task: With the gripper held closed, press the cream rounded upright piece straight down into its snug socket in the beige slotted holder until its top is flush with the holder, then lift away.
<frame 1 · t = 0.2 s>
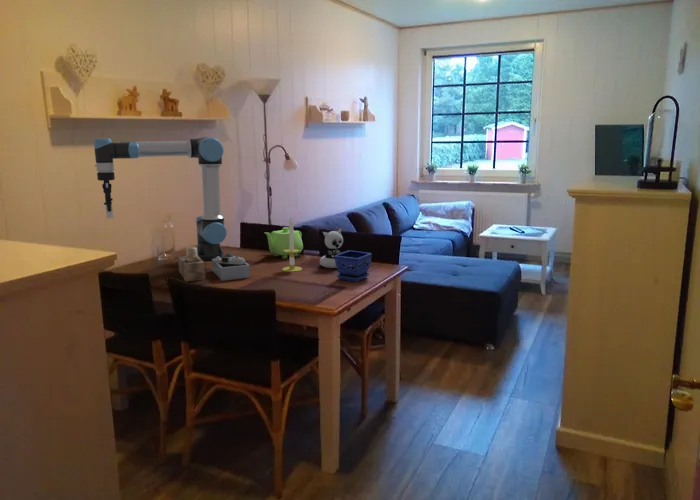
hand: (109, 216, 266), 28 cm above the table, fingers open, 13 cm apart
teapot: (280, 255, 309), on the table
camera: (232, 273, 270), resting in caddy
decorative figurine: (334, 266, 286), on the table
beige slotted holder: (191, 275, 267), on the table
caddy: (230, 274, 269), on the table
flower pot: (353, 279, 261), on the table
candle: (292, 269, 278), on the table
cream rounded upright piece: (191, 256, 261), point 10 cm above the table, slide at 0.0 cm
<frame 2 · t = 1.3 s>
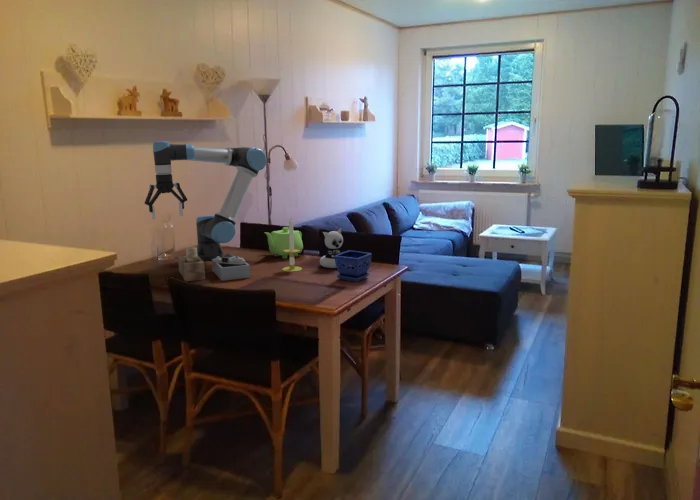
hand: (167, 217, 272), 26 cm above the table, fingers open, 13 cm apart
nothing on the table moved.
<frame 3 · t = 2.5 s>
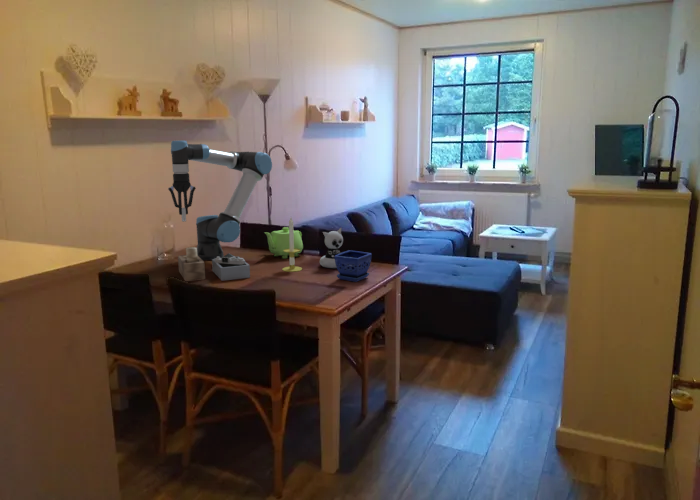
hand: (184, 221, 273), 24 cm above the table, fingers closed
nothing on the table moved.
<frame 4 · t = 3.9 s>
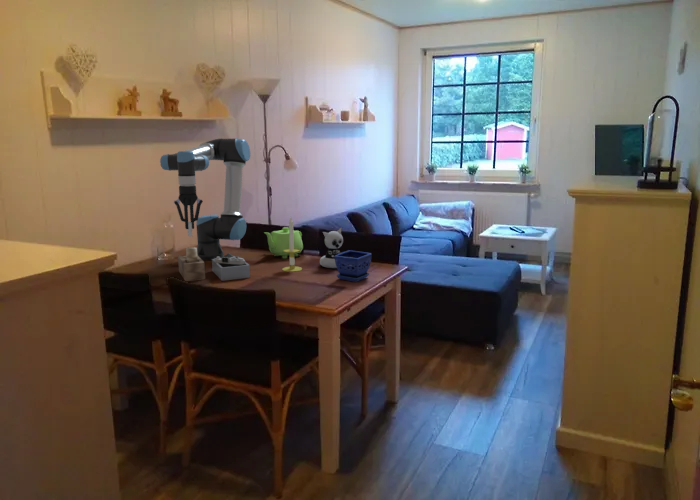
hand: (190, 235, 259), 20 cm above the table, fingers closed
nothing on the table moved.
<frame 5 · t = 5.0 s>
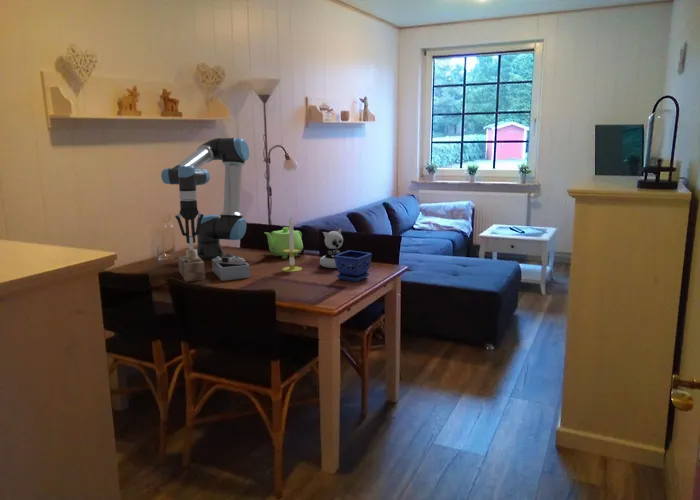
hand: (191, 249, 261), 13 cm above the table, fingers closed
cream rounded upright piece: (192, 258, 262), point 9 cm above the table, slide at 1.0 cm, touching gripper
everything else where it was.
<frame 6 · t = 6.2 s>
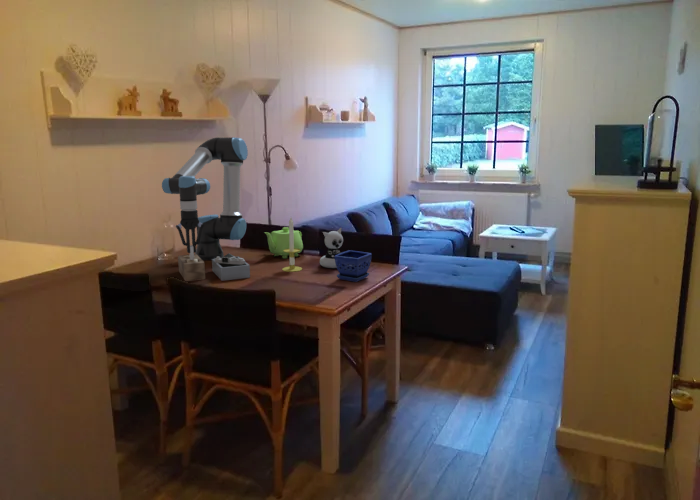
hand: (192, 259, 262), 9 cm above the table, fingers closed
cream rounded upright piece: (192, 267, 263), point 5 cm above the table, slide at 5.6 cm, touching gripper
everything else where it was.
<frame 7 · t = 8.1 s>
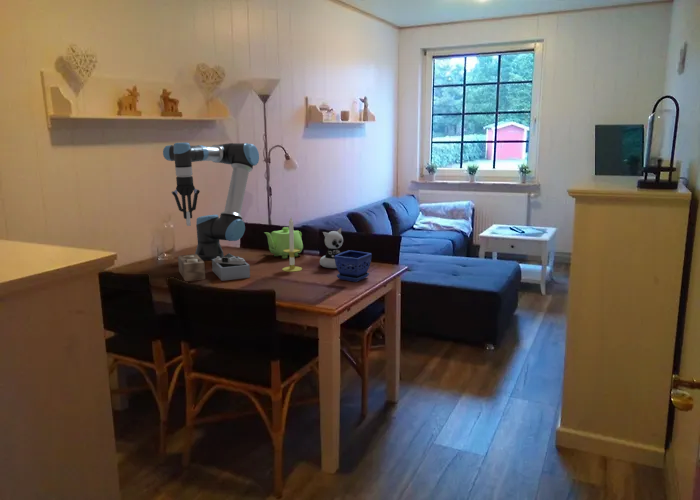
hand: (188, 225, 267), 24 cm above the table, fingers closed
cream rounded upright piece: (192, 267, 263), point 5 cm above the table, slide at 5.6 cm
everything else where it was.
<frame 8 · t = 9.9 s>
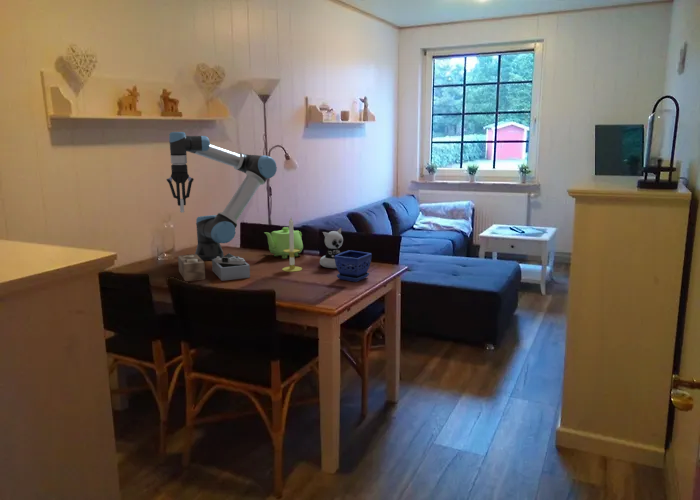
hand: (182, 212, 276), 28 cm above the table, fingers closed
nothing on the table moved.
at the end: cream rounded upright piece slide at 5.6 cm; cream rounded upright piece touching nothing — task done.
